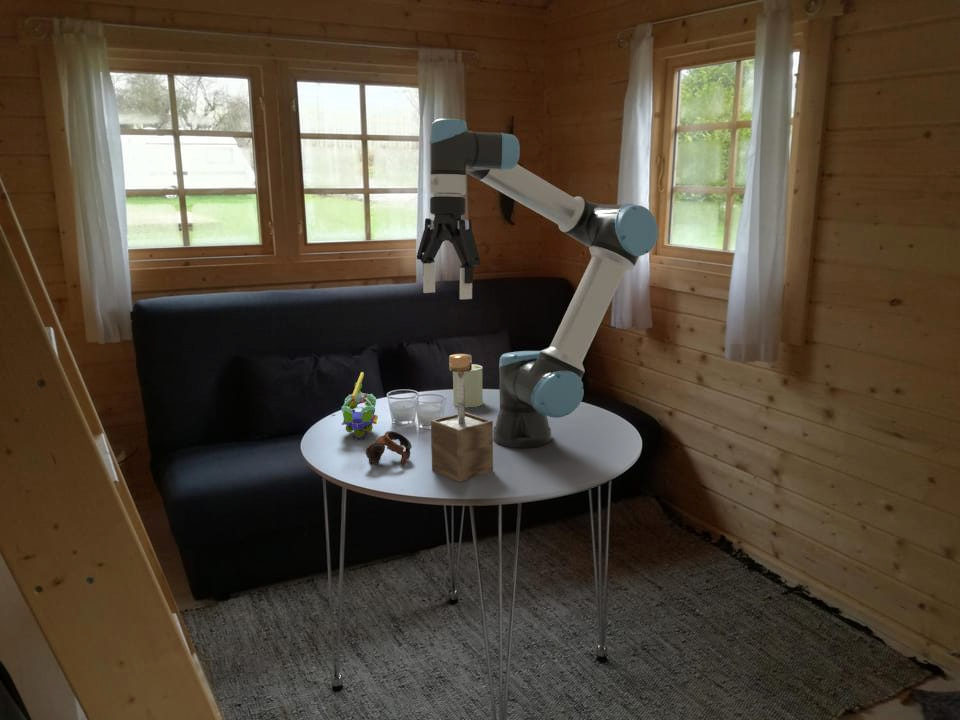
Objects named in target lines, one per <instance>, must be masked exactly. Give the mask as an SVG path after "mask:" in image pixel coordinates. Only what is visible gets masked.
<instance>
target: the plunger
mask: <svg viewBox="0 0 960 720" xmlns="http://www.w3.org/2000/svg"><path fill="white" fill-rule="evenodd" d="M448 361H449V362H448V365H449V367H448V368H449V371H450V372H452V373H453V372H457V393H458V407H457V414H458V417H457V418H453V419H449V420H445V421H441V422H440V423H443V424H446V425H448V426H451V427H454V428H457V429H462V428H465V427H469V426H473V425H476V424H480V423H484V422H482V421H478V420H475V419H472V418H469V417H466V416H465V412H466V408H465V387H464V372H466V371H470V370H472V364H473V362H472V355H471V354H467V353H455V354H451V355H449V357H448Z"/></svg>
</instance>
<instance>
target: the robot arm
mask: <svg viewBox="0 0 960 720" xmlns="http://www.w3.org/2000/svg"><path fill="white" fill-rule="evenodd" d="M467 126H468V125H467V122H466V120H463V119H458V118H438V119H435V120H434V121H433V122H432V123H431V125H430V138H429V139H430V140H429V144H430V147H429V148H430V190H429V191H430V194H432V195H433V196H431V197H430V198H429V213H430V214H431V215H433V216H434V218H433V217H432V218H429V217H428V218H427V217H426V218H425V219H424V229H423V232H422V236H421V239H420V243H419V246H418V249H417V253H416V259H417V260H420V262H421V263H422V276H423V278H422V279H423V282H422V283H423V285H422V288H423V293H424V294H429V293H431V294H432V293H436V263H435V262H436V261H435V258H436V257H437V254H438V253H439V251H440V248H441V247H442V244H443V243H444V242H445V241H449V242H450V243H451V244H452V247H453V249H454V250H455V254H457V257H458V259H459V261H460V263H461V265H460V268H459V300H472V299H473V283H474V269H475V267H477V266H481V263H482V260H481V258H480V257H481V256H480V253H479V250H478V247H477V244H476V240H475V237H474V232H473V222H472V220H471V219H462V216H465V214H466V198H465V197H463V196H464V195H466V193H467V174H468V175H469V176H471V177H473V178H475V179H477V180H479V181H480V182H483V183H484V184H486V185H487V186H490V187H491V188H493V189H495V190H497V191H499V192H500V193H502V194H503V195H505V196H507V197H509V198H511V199H513V200H514V201H516V202H518V203H519V204H521V205H523V206H525V207H526V208H527V209H530V210H532V211H534V212H536V214H538V215H541V216H543V217H544V218H546V219H548V220H550V221H551V222H553V223H555V224H556V225H558V229H559V230H560V231H561V233H562V232H563V233H564V234H566V235H567V236H569V237H571V238H573V239H574V240H575V241H578V242H579V243H581V244H582V245H584V246H586V247H588V250H589V253H590V255H591V259H590V260H589V262H588V265H587V267H586V269H585V272H584V273H583V275H582V277H581V280H580V282H579V284H578V286H577V289H575V293H574V294H573V297H572V299H571V300H570V303H569V305H568V307H567V308H566V309H567V310H566V311H565V313H564V315H563V318H562V320H561V323H560V324H559V326H558V328H557V331H556V332H555V335H554V337H553V339H552V341H551V343H550V345H549V347H547V348H544V349H542V350H541V349H540V350H522V351H521V350H519V351H513V352H506V353H503V354H501V356H500V357H499V363H498V370H499V371H498V373H499V375H498V377H499V383H498V384H499V387H498V388H499V412H498V414H497V419H496V423H495V426H494V427H493V441H494V442H495V443H497V444H499V445H501V446H506V447H510V448H524V449H525V448H535V447H541V446H544V445H546V444H548V443H550V441H551V440H552V429H551V427H550V425H549V420H548V417H551V418H554V419H555V418H556V419H558V418H559V419H560V418H564V417H566V416H568V415H571V414H572V413H573V412H574V411H575V410H577V408H578V407H579V406H580V404H581V402H582V400H583V398H584V394H585V393H584V392H585V391H584V390H585V389H584V383H583V381H582V378H583V376H584V374H585V367H584V365H583V362H584V360H585V358H586V355H587V353H588V350H589V349H590V347H591V344H592V342H593V341H594V338H595V336H596V334H597V332H598V329H599V327H600V325H601V323H602V321H603V319H604V317H605V315H606V312H607V310H608V309H609V306H610V304H611V302H612V299H613V298H614V296H615V294H616V291H617V289H618V287H619V285H620V282H621V280H622V278H623V276H624V275H625V273H626V272H627V271H631V270H633V269H634V268H635V266H636V265H637V262H638V260H639V257H642V256H645V255H647V254H648V253H650V252H651V251H652V250H653V249H654V247H655V246H656V244H657V240H658V235H659V227H658V224H657V221H656V220H657V219H656V218H655V217H656V216H654V214H653V212H652V211H650V210H649V208H647V207H645V206H642V205H640V204H639V205H638V204H633V203H625V204H605V203H604V204H603V203H602V204H601V203H595V202H592V201H588V200H586V199H585V198H583V197H582V196H575V197H574V196H572V195H570V194H569V193H567V192H565V191H563V190H562V189H559V188H558V187H557V186H555V185H553V184H551V183H549V182H548V181H546V180H545V179H543V178H541V177H540V176H538V175H536V174H535V173H533V172H531V171H530V170H527V168H524V167H523V166H521V165H519V164H518V162H519V160H520V153H521V151H520V150H521V147H520V142H519V139H518V137H516V135H514V134H510V133H504V132H501V133H500V132H484V131H483V132H482V131H481V132H480V131H471V130H468V127H467Z"/></svg>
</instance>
